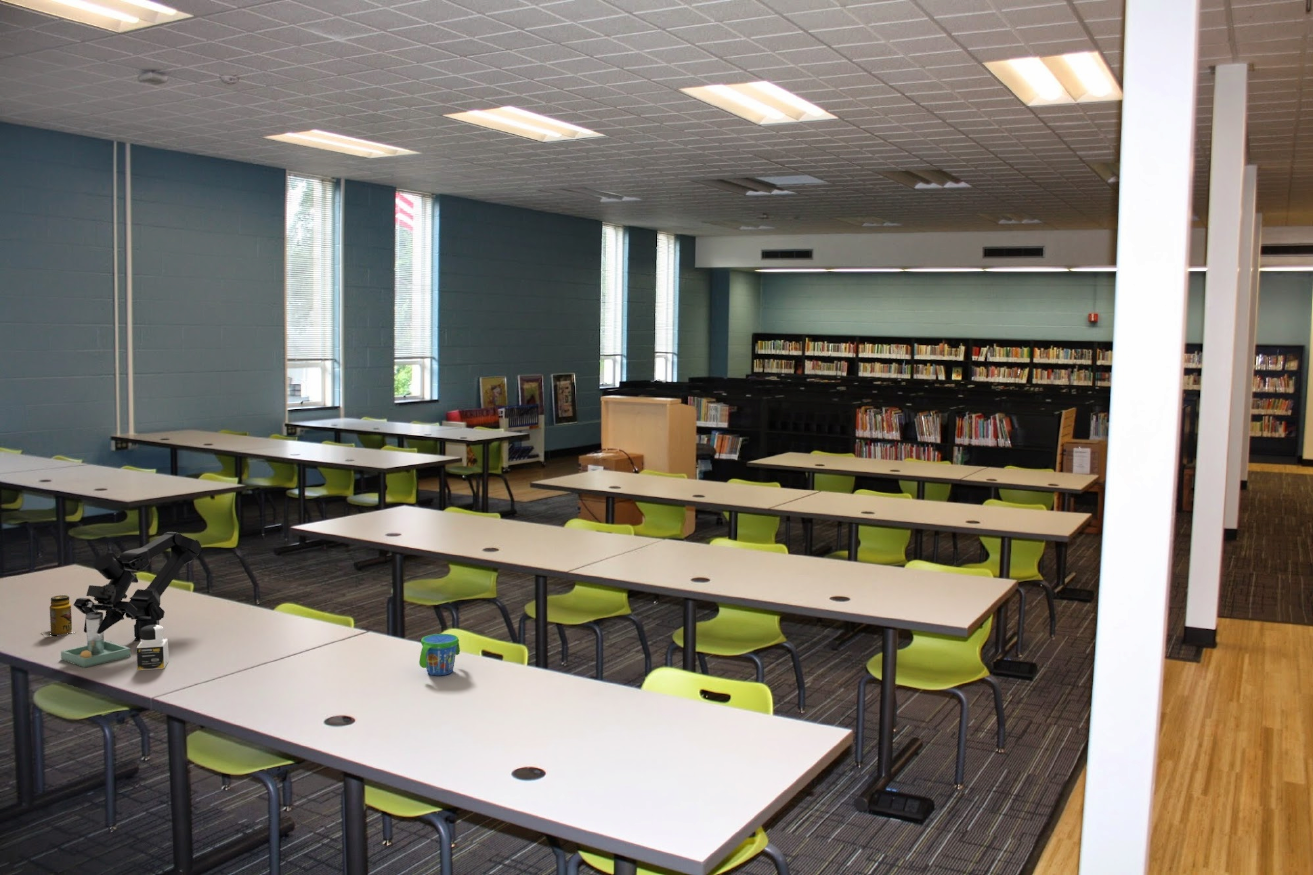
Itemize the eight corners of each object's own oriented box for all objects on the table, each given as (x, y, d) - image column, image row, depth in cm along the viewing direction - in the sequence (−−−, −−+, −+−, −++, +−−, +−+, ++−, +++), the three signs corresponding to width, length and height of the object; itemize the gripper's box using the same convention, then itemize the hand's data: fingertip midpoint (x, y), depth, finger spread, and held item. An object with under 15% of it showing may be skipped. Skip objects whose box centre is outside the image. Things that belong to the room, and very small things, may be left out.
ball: (93, 658, 304) (92, 648, 304) (89, 661, 301) (89, 651, 301) (82, 659, 303) (81, 649, 303) (78, 662, 300) (78, 652, 300)
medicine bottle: (137, 670, 295) (135, 630, 294) (142, 663, 302) (141, 623, 301) (164, 669, 297) (162, 628, 296) (168, 661, 304) (167, 622, 303)
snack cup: (446, 662, 306) (446, 629, 305) (472, 668, 300) (472, 635, 299) (407, 676, 293) (406, 641, 292) (433, 683, 287) (433, 647, 286)
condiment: (76, 633, 332) (74, 597, 331) (46, 638, 326) (44, 601, 325) (69, 628, 337) (68, 592, 336) (40, 633, 332) (39, 597, 330)
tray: (107, 648, 316) (106, 640, 316) (130, 656, 308) (130, 648, 308) (61, 659, 305) (60, 651, 304) (84, 667, 297) (84, 659, 297)
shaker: (101, 649, 310) (100, 610, 308) (107, 652, 306) (105, 613, 305) (85, 652, 306) (83, 613, 305) (90, 656, 303) (88, 616, 302)
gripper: (76, 571, 310) (49, 616, 300) (129, 575, 306) (103, 621, 296) (97, 591, 319) (71, 635, 309) (148, 594, 314) (124, 640, 305)
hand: (91, 632), depth 304 cm, fingers closed on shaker, 4 cm apart
